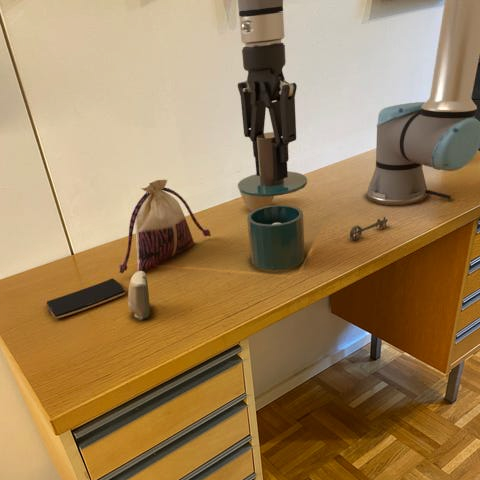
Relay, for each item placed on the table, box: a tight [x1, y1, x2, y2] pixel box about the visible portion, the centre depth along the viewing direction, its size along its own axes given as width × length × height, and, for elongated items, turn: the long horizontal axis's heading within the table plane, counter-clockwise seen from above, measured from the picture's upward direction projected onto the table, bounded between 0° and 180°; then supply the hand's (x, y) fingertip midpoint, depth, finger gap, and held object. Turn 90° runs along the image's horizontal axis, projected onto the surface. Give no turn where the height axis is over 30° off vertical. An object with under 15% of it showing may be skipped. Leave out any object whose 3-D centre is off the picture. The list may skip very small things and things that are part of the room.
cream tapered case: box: [127, 270, 151, 321], centre depth 92 cm, size 6×5×8 cm
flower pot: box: [239, 191, 275, 212], centre depth 133 cm, size 10×10×7 cm
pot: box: [246, 204, 306, 271], centre depth 105 cm, size 12×12×10 cm
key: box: [349, 216, 388, 241], centre depth 113 cm, size 12×1×3 cm, turn 124°
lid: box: [237, 131, 308, 197], centre depth 96 cm, size 14×14×10 cm
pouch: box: [118, 178, 212, 274], centre depth 109 cm, size 25×8×19 cm, turn 138°
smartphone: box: [46, 278, 127, 319], centre depth 101 cm, size 7×1×15 cm
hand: (271, 176), depth 98 cm, fingers closed on lid, 5 cm apart
